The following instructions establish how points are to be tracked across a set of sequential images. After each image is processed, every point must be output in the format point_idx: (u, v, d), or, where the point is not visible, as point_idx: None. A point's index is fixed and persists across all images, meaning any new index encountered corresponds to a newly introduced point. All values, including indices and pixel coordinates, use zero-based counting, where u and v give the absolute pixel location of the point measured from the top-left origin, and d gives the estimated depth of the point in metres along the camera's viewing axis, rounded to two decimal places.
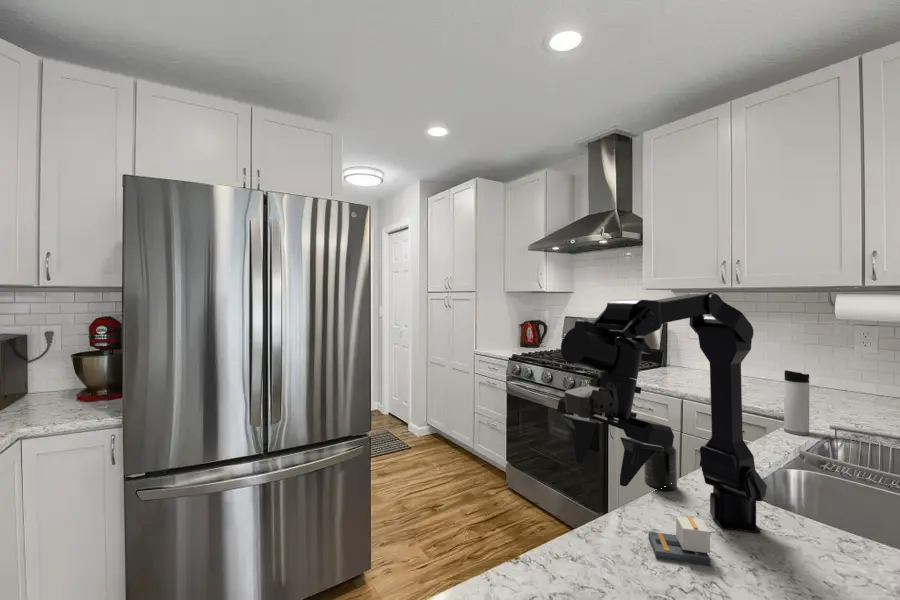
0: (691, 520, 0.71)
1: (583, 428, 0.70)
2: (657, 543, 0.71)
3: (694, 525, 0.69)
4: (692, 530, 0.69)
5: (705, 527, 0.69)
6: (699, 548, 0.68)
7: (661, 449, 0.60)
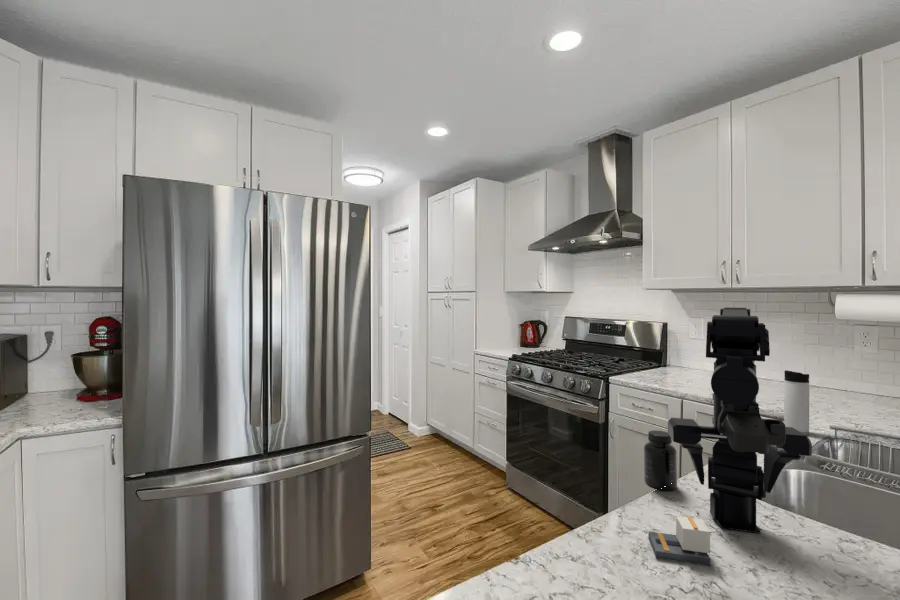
0: (691, 520, 0.71)
1: None
2: (657, 543, 0.71)
3: (694, 525, 0.69)
4: (692, 530, 0.69)
5: (705, 527, 0.69)
6: (699, 548, 0.68)
7: None
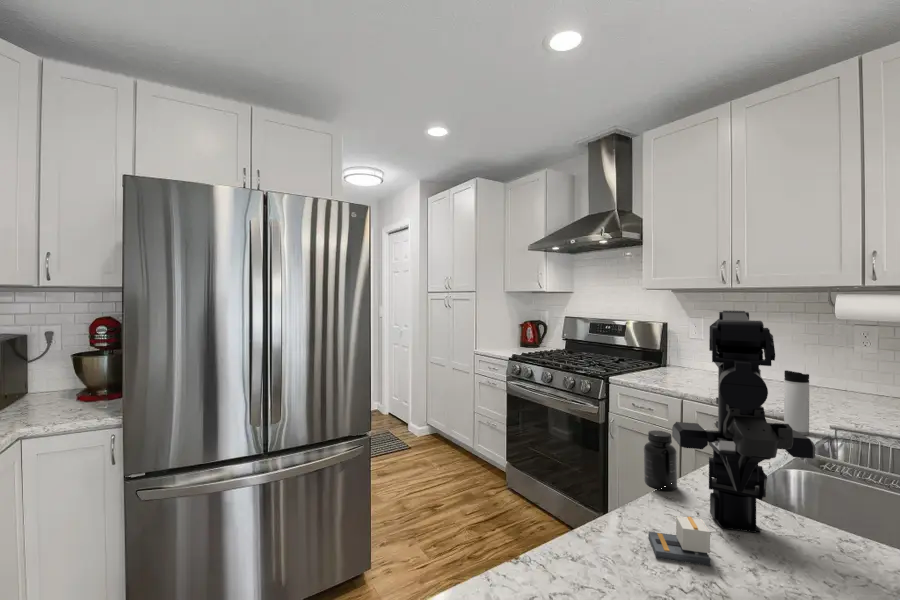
0: (691, 520, 0.71)
1: None
2: (657, 543, 0.71)
3: (694, 525, 0.69)
4: (692, 530, 0.69)
5: (705, 527, 0.69)
6: (699, 548, 0.68)
7: None
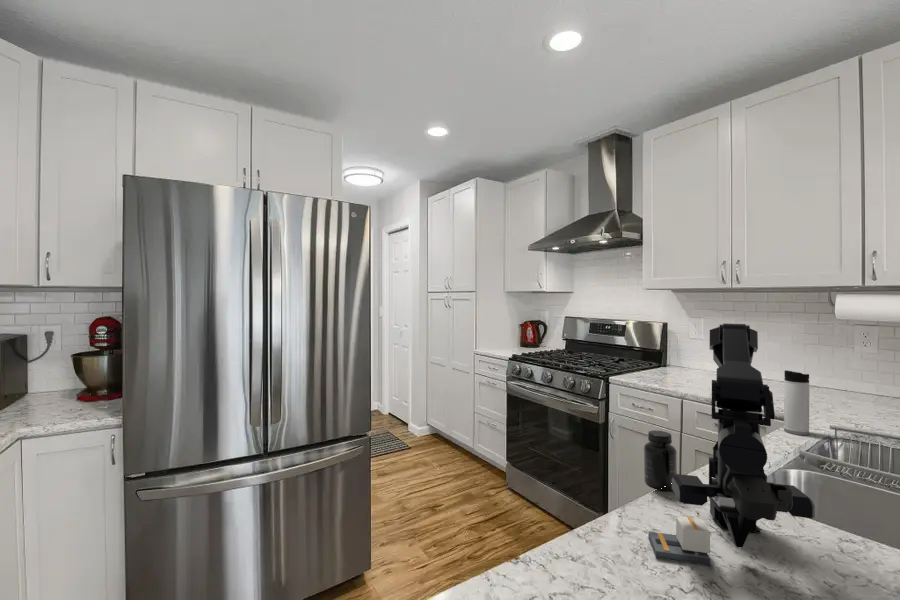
0: (691, 520, 0.71)
1: None
2: (657, 543, 0.71)
3: (694, 525, 0.69)
4: (692, 530, 0.69)
5: (705, 527, 0.69)
6: (699, 548, 0.68)
7: None
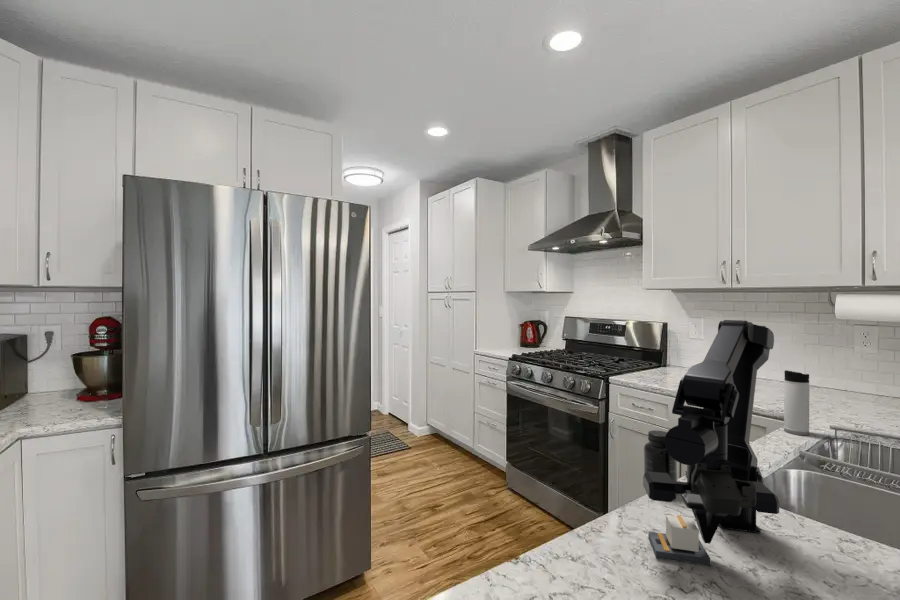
0: (680, 519, 0.71)
1: None
2: (657, 543, 0.71)
3: (683, 524, 0.70)
4: (681, 529, 0.69)
5: (694, 526, 0.70)
6: (688, 546, 0.69)
7: None
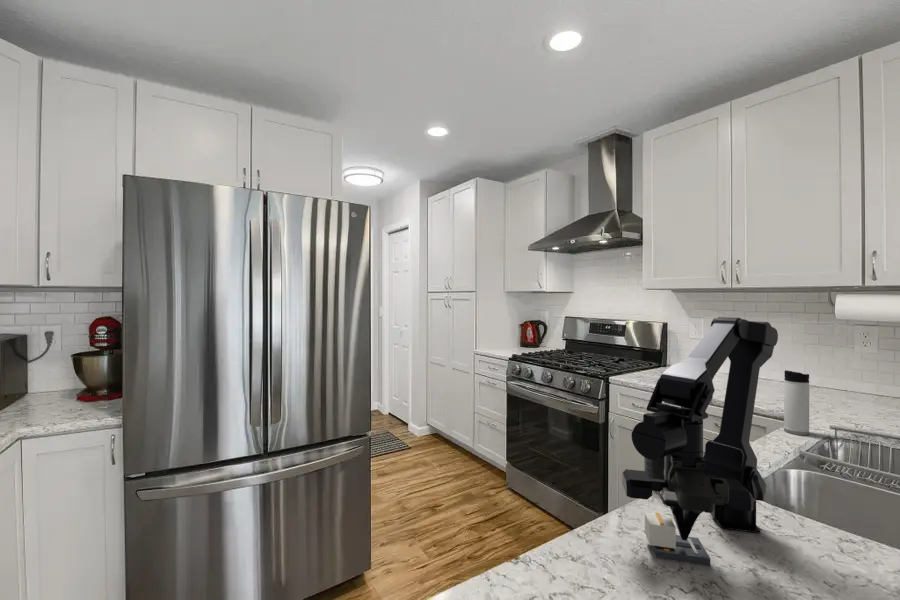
0: (658, 516, 0.72)
1: None
2: None
3: (661, 521, 0.71)
4: (658, 526, 0.70)
5: (671, 523, 0.71)
6: (665, 543, 0.70)
7: None
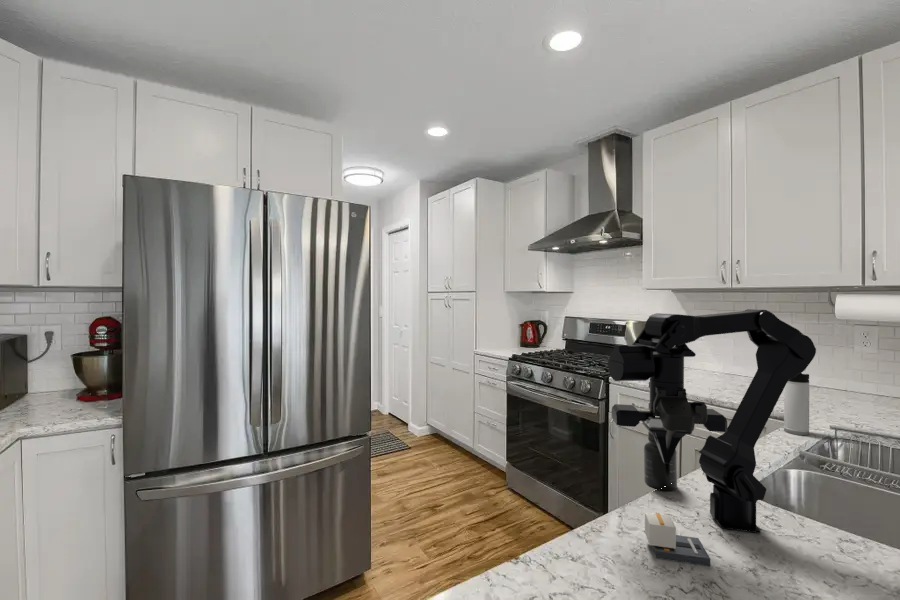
0: (659, 516, 0.72)
1: None
2: None
3: (661, 521, 0.71)
4: (658, 526, 0.70)
5: (672, 523, 0.71)
6: (665, 543, 0.70)
7: None
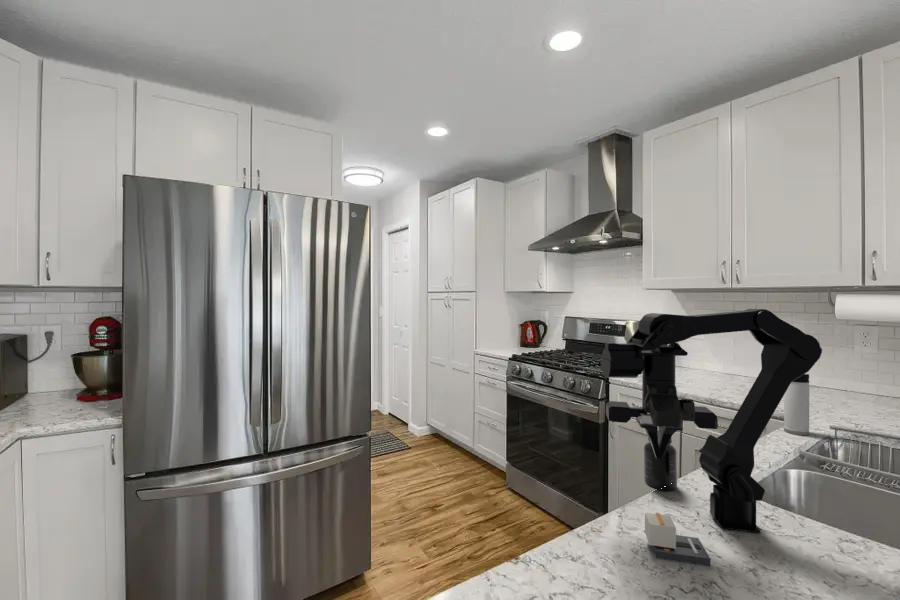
0: (659, 516, 0.72)
1: None
2: None
3: (661, 521, 0.71)
4: (658, 526, 0.70)
5: (672, 523, 0.71)
6: (665, 543, 0.70)
7: None
